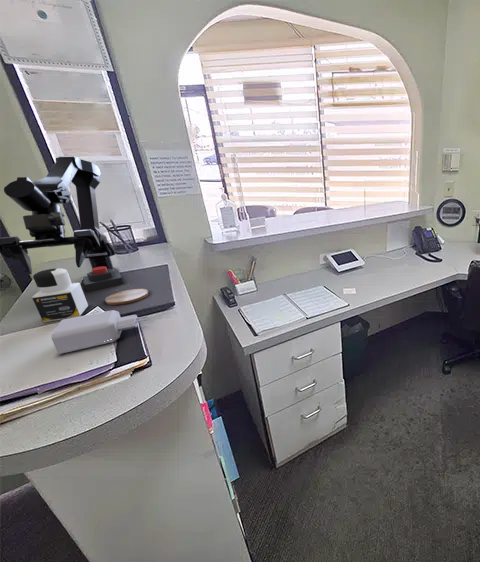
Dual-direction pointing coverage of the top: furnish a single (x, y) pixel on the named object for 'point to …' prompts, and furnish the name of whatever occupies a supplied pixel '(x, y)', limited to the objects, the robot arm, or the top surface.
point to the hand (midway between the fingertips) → (54, 270)
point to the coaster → (126, 296)
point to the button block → (102, 280)
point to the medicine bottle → (58, 295)
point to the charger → (91, 330)
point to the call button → (99, 270)
